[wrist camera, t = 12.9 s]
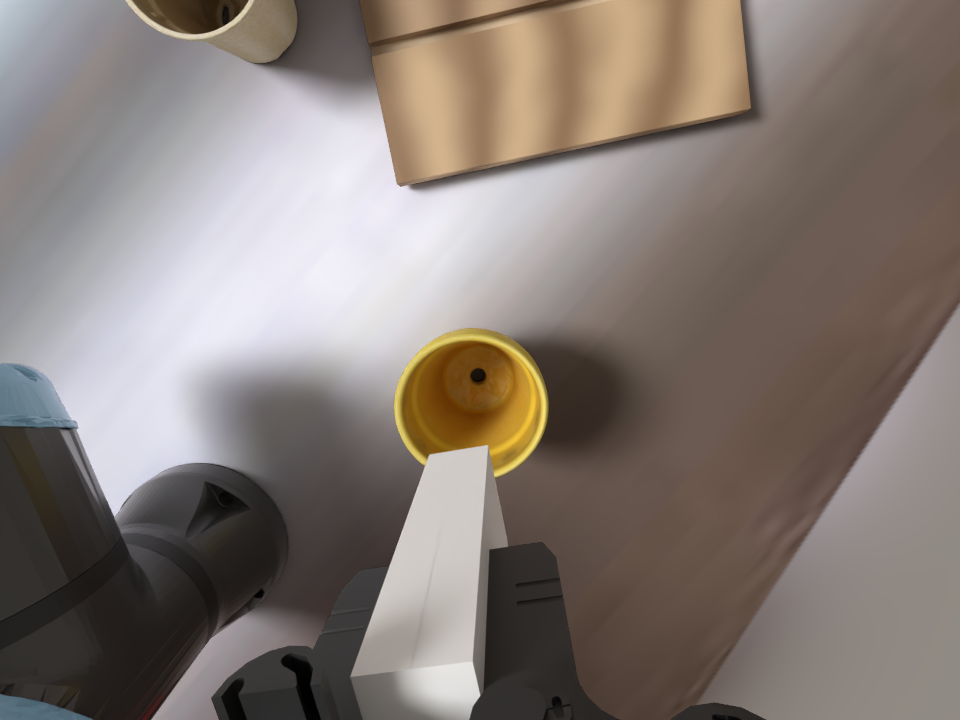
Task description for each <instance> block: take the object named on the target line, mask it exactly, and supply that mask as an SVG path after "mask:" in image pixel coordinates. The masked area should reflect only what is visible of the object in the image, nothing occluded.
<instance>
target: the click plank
mask: <svg viewBox="0 0 960 720" xmlns="http://www.w3.org/2000/svg"><path fill="white" fill-rule="evenodd" d="M371 60H372V65H373V70H374V75H375V79H376V84H377V89H378V94H379V99H380V104H381V109H382V113H383V118H384V123H385V128H386V133H387V138H388V143H389V147H390V152H391V157H392V162H393V167H394V172H395V177H396V181H397V184H398V185H399V186H400V187H401V186H406V185H410V184H415V183H420V182H425V181H429V180H434V179H439V178H444V177H448V176H453V175H458V174H462V173H467V172H472V171H477V170H481V169H486V168H491V167H495V166H500V165H505V164H510V163H514V162H519V161H524V160H529V159H533V158H538V157H543V156H547V155H552V154H557V153H562V152H566V151H571V150H576V149H580V148H585V147H590V146H595V145H599V144H604V143H609V142H614V141H618V140H623V139H628V138H632V137H637V136H642V135H647V134H651V133H656V132H661V131H666V130H670V129H675V128H680V127H684V126H689V125H694V124H699V123H703V122H708V121H713V120H717V119H722V118H727V117H732V116H736V115H741V114H744V113H745V112H747V111H748V110H750V109H751V104H750V94H749V84H748V74H747V64H746V54H745V44H744V34H743V24H742V14H741V4H740V0H610V1H606V2H602V3H598V4H593V5H589V6H585V7H581V8H576V9H572V10H568V11H564V12H559V13H555V14H551V15H547V16H542V17H538V18H534V19H530V20H525V21H521V22H517V23H513V24H508V25H504V26H500V27H496V28H491V29H487V30H483V31H479V32H475V33H470V34H466V35H462V36H458V37H453V38H449V39H445V40H441V41H436V42H432V43H428V44H424V45H419V46H415V47H411V48H407V49H402V50H398V51H394V52H390V53H385V54H381V55H377V56H373V57H371Z"/></svg>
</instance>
